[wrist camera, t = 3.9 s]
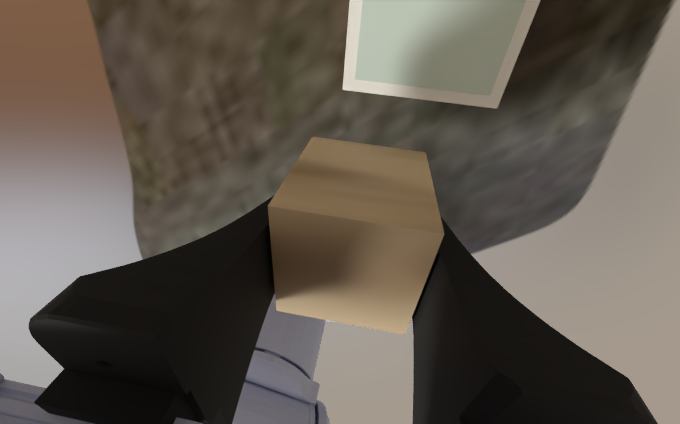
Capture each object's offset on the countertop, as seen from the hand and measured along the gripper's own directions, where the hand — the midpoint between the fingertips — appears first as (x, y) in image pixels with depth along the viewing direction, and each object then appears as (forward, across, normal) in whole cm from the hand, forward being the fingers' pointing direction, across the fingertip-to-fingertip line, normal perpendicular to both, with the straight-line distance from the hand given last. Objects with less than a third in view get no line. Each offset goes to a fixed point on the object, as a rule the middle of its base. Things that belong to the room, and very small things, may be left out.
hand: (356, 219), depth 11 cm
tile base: (+8, -2, -7) cm, 11 cm away
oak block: (+2, 0, 0) cm, 2 cm away
